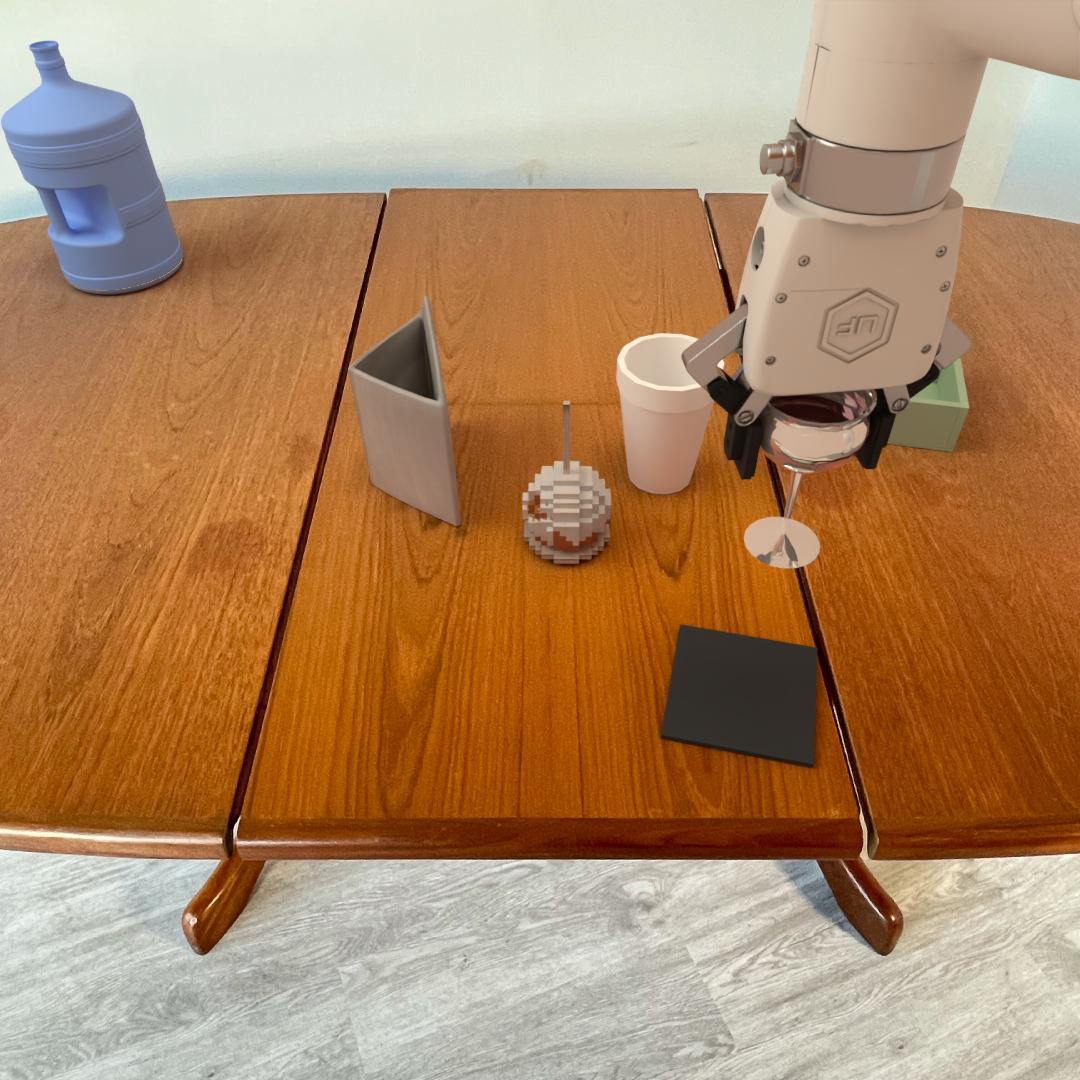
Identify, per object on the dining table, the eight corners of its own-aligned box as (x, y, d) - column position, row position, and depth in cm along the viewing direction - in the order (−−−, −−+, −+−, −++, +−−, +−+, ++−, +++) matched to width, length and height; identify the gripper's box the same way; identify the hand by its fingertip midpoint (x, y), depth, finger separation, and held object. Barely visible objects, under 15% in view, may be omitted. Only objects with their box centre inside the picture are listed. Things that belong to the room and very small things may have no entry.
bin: (942, 383, 97) (957, 340, 94) (952, 452, 89) (969, 408, 85) (825, 370, 100) (835, 328, 96) (824, 436, 91) (835, 392, 87)
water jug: (140, 234, 129) (64, 19, 110) (209, 262, 122) (141, 37, 103) (43, 277, 120) (-58, 51, 101) (112, 309, 113) (18, 73, 94)
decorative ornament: (526, 509, 84) (520, 375, 73) (607, 509, 83) (613, 375, 73) (522, 567, 78) (515, 431, 68) (610, 568, 78) (616, 432, 67)
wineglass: (709, 544, 58) (732, 394, 50) (766, 494, 62) (796, 346, 54) (799, 594, 55) (839, 442, 47) (853, 539, 59) (900, 387, 50)
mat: (816, 651, 71) (817, 647, 70) (812, 768, 63) (814, 764, 63) (679, 627, 73) (680, 623, 72) (660, 738, 65) (660, 734, 65)
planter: (366, 435, 93) (331, 263, 79) (440, 424, 94) (419, 253, 80) (377, 539, 81) (339, 358, 68) (462, 526, 82) (441, 345, 69)
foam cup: (654, 433, 92) (664, 322, 83) (726, 472, 87) (745, 359, 78) (592, 474, 87) (596, 362, 78) (665, 518, 82) (677, 404, 73)
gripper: (707, 208, 38) (673, 513, 50) (1090, 183, 39) (965, 488, 51) (671, 145, 44) (649, 434, 56) (1009, 124, 44) (913, 413, 57)
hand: (801, 458), depth 54 cm, fingers closed on wineglass, 6 cm apart
